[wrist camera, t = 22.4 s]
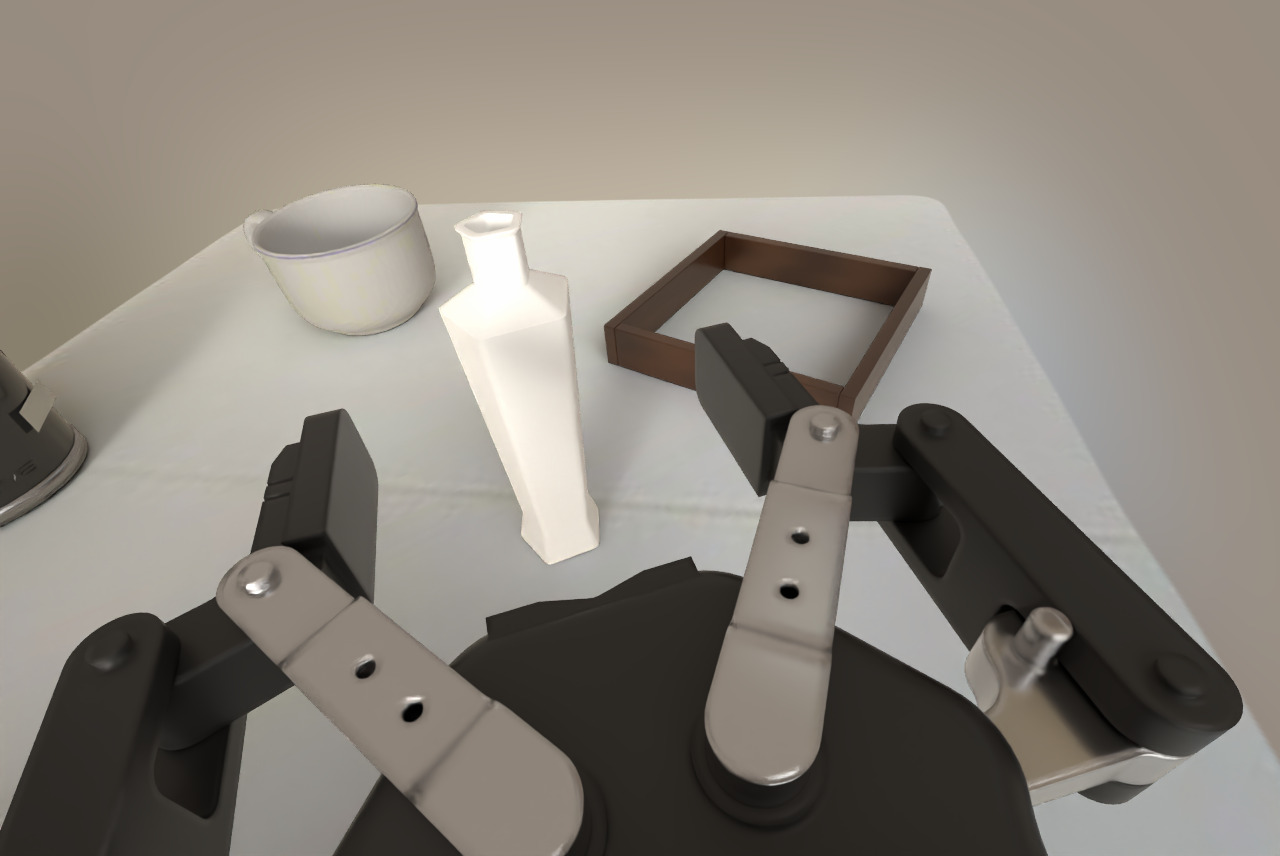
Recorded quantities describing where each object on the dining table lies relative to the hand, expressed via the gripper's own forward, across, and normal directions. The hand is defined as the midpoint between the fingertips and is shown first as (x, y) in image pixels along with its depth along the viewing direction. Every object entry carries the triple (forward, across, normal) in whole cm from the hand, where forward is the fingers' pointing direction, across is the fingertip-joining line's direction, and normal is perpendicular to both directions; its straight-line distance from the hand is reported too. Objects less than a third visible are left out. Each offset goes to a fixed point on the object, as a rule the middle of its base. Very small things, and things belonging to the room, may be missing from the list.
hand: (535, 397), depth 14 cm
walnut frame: (+19, -17, +14) cm, 29 cm away
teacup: (+34, +10, +14) cm, 39 cm away
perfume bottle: (+8, 0, +14) cm, 16 cm away
